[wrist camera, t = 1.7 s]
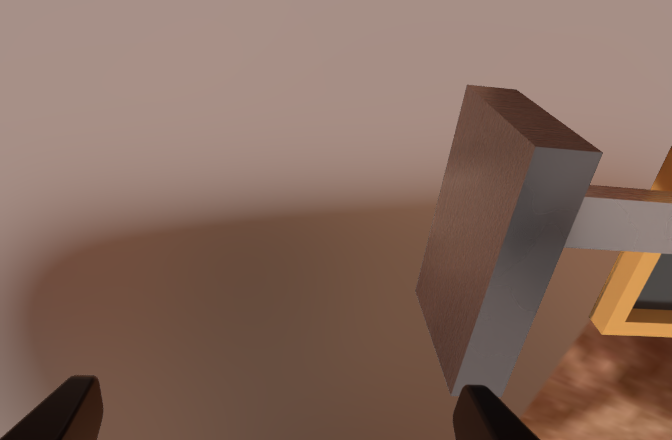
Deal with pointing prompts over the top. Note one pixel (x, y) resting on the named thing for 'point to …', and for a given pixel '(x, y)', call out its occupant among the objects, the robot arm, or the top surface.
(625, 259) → the wooden picture frame
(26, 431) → the robot arm
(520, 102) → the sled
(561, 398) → the top surface
